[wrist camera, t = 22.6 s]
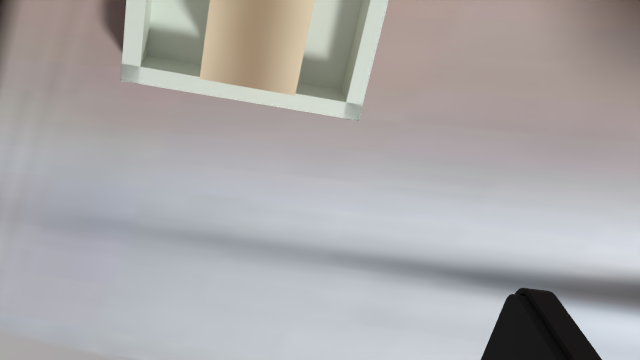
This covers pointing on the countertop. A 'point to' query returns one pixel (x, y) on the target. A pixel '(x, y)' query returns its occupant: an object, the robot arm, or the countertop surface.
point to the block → (256, 43)
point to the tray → (311, 94)
